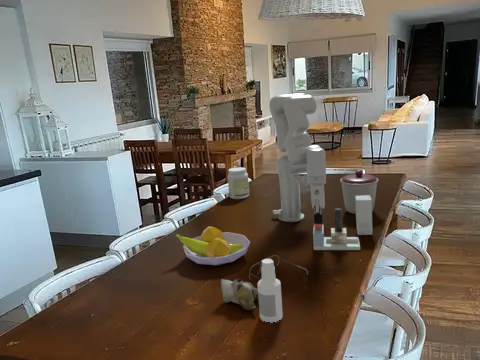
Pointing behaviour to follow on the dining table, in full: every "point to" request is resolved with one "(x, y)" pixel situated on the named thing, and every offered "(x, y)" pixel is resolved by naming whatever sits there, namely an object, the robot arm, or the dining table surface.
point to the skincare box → (364, 215)
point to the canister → (358, 188)
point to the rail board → (326, 244)
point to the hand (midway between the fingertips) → (318, 223)
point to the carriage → (338, 228)
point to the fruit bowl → (215, 247)
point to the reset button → (317, 226)
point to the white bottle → (269, 293)
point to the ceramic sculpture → (239, 293)
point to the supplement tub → (238, 183)
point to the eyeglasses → (277, 264)
